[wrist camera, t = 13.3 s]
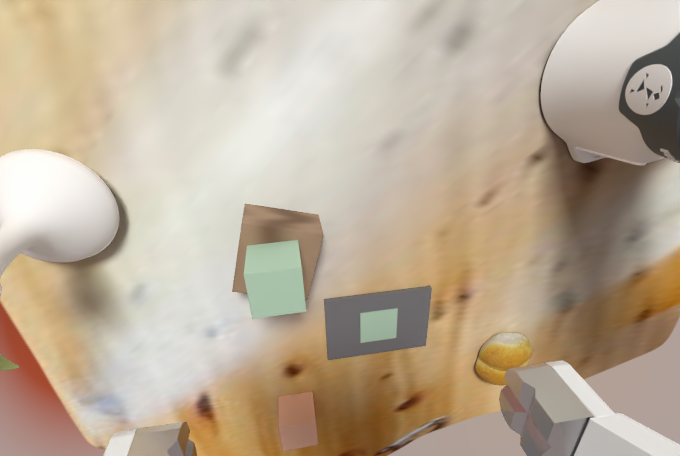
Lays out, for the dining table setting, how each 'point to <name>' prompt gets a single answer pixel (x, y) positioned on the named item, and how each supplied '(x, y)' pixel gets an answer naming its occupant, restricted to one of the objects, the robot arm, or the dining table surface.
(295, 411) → the terracotta block
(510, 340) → the bread roll
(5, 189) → the flower in vase
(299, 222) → the walnut base block
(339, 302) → the card
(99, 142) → the dining table surface
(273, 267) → the green block
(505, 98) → the dining table surface
